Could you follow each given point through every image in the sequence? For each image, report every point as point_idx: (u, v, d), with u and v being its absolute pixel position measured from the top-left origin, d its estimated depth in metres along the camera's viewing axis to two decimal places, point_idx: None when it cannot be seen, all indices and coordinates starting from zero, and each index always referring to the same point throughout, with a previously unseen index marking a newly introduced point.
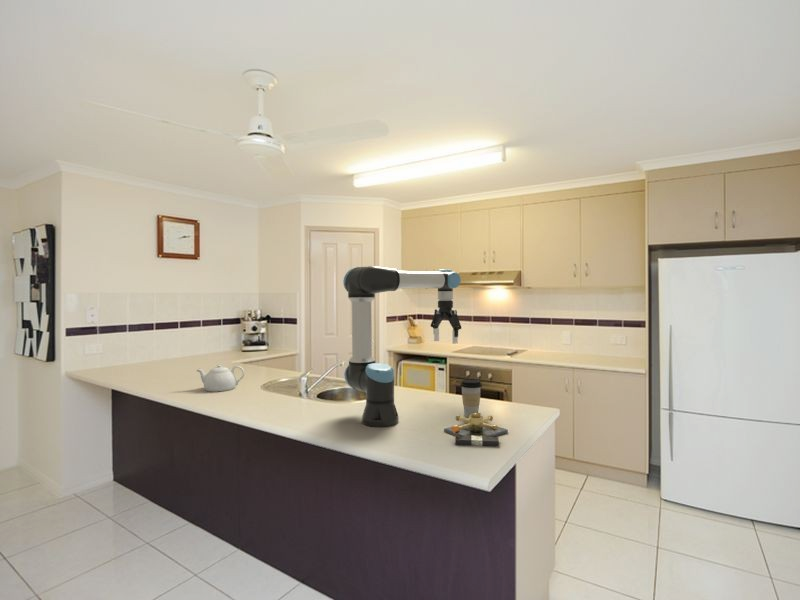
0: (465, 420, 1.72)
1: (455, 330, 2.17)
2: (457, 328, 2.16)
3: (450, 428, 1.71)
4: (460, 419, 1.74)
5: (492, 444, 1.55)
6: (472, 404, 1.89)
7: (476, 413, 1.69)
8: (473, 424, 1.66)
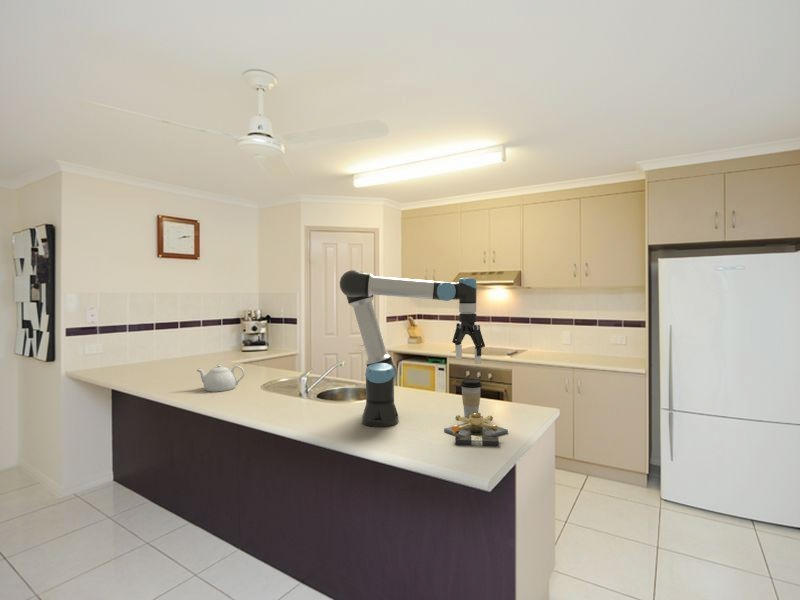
0: (465, 420, 1.72)
1: (478, 348, 1.88)
2: (479, 346, 1.86)
3: (450, 428, 1.71)
4: (460, 419, 1.74)
5: (492, 444, 1.55)
6: (472, 404, 1.89)
7: (476, 413, 1.69)
8: (473, 424, 1.66)
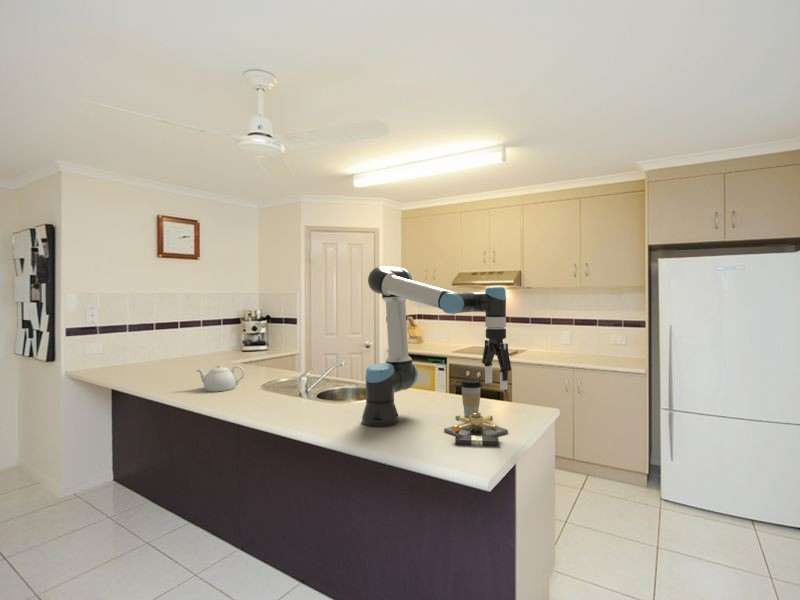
0: (465, 420, 1.72)
1: (503, 372, 1.61)
2: (504, 369, 1.59)
3: (450, 428, 1.71)
4: (460, 419, 1.74)
5: (492, 444, 1.55)
6: (472, 404, 1.89)
7: (476, 413, 1.69)
8: (473, 424, 1.66)
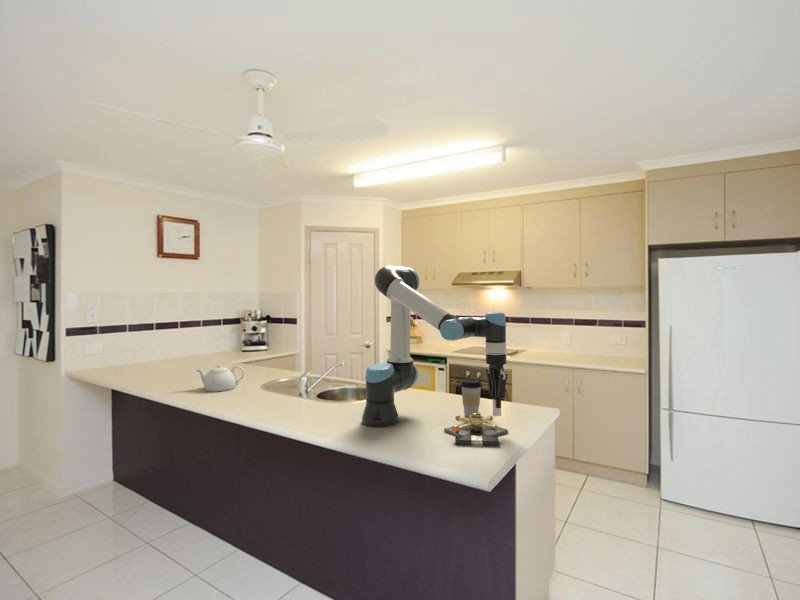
0: (465, 420, 1.72)
1: (496, 399, 1.67)
2: (498, 397, 1.65)
3: (450, 428, 1.71)
4: (460, 419, 1.74)
5: (492, 444, 1.55)
6: (472, 404, 1.89)
7: (476, 413, 1.69)
8: (473, 424, 1.66)
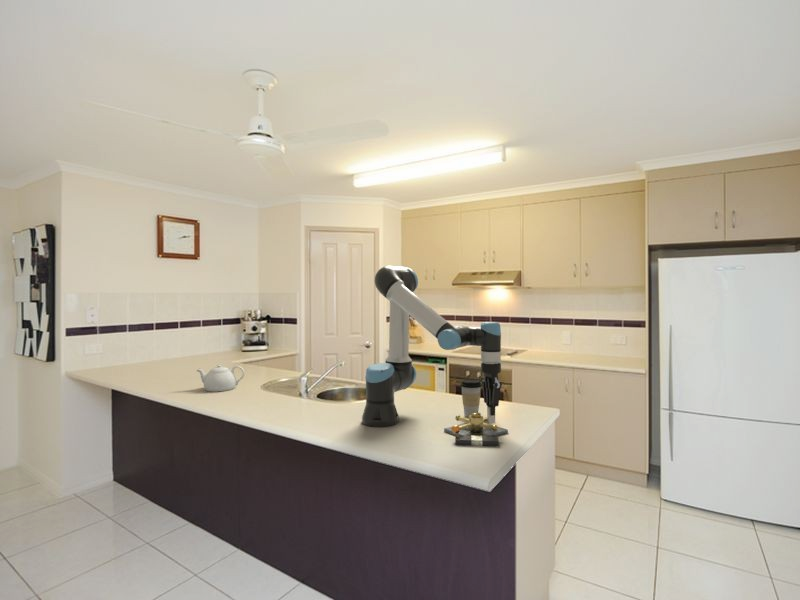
0: (465, 420, 1.72)
1: None
2: (492, 405, 1.69)
3: (450, 428, 1.71)
4: (460, 419, 1.74)
5: (492, 444, 1.55)
6: (472, 404, 1.89)
7: (476, 413, 1.69)
8: (473, 424, 1.66)
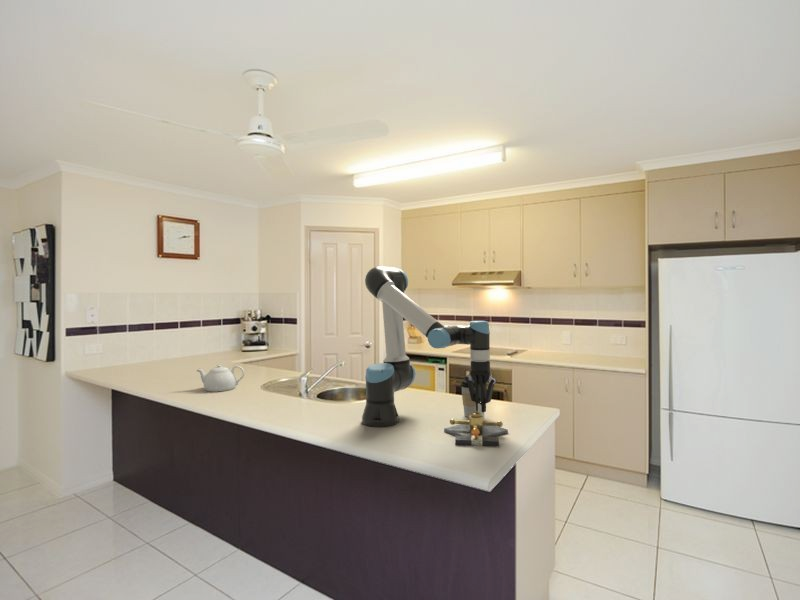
0: (463, 422, 1.69)
1: None
2: (486, 402, 1.72)
3: (450, 428, 1.71)
4: (457, 422, 1.69)
5: (492, 444, 1.55)
6: (472, 404, 1.89)
7: (476, 413, 1.69)
8: (478, 424, 1.66)
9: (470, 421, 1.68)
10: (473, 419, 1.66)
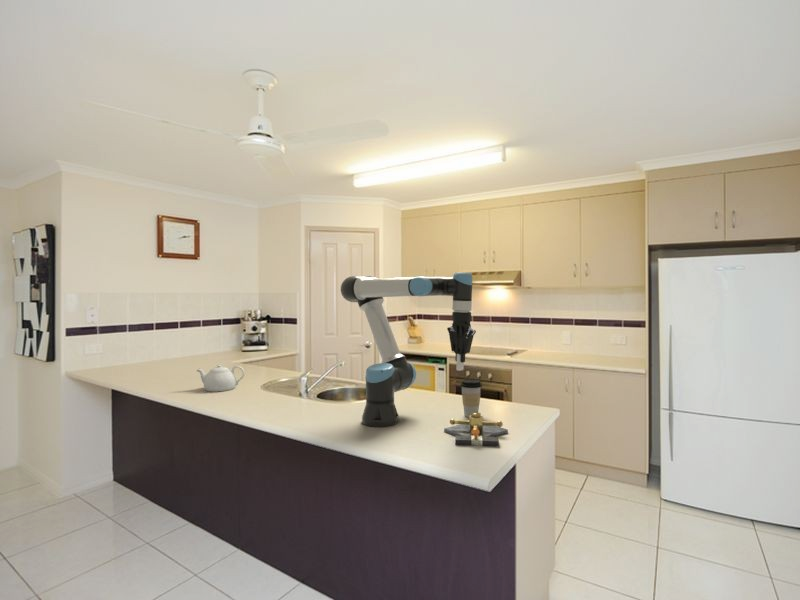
0: (463, 422, 1.69)
1: (461, 354, 1.77)
2: (464, 352, 1.75)
3: (450, 428, 1.71)
4: (457, 422, 1.69)
5: (492, 444, 1.55)
6: (472, 404, 1.89)
7: (476, 413, 1.69)
8: (478, 424, 1.66)
9: (470, 421, 1.68)
10: (473, 419, 1.66)
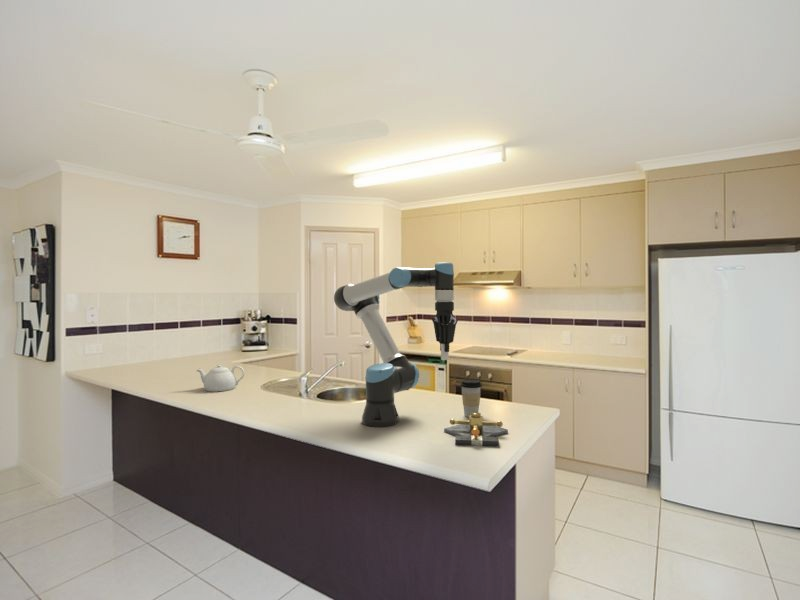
0: (463, 422, 1.69)
1: None
2: (447, 342, 1.76)
3: (450, 428, 1.71)
4: (457, 422, 1.69)
5: (492, 444, 1.55)
6: (472, 404, 1.89)
7: (476, 413, 1.69)
8: (478, 424, 1.66)
9: (470, 421, 1.68)
10: (473, 419, 1.66)
